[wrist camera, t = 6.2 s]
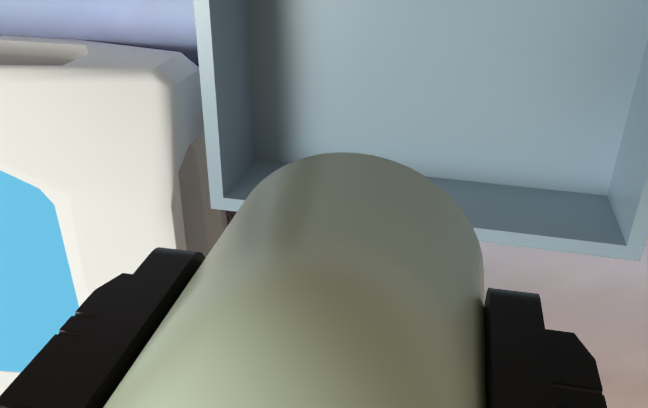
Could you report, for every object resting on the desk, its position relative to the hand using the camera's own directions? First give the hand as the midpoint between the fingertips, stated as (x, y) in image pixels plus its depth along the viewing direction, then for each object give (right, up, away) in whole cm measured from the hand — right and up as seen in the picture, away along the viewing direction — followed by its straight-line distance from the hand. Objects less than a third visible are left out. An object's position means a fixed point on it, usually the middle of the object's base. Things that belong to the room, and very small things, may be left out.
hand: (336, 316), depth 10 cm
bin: (+5, +9, +16) cm, 19 cm away
